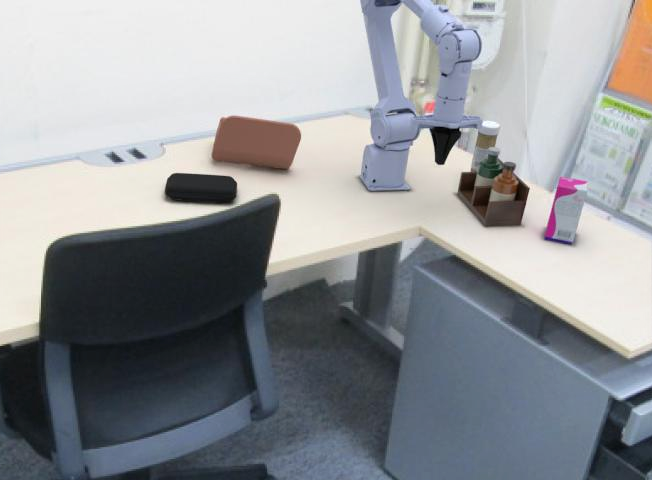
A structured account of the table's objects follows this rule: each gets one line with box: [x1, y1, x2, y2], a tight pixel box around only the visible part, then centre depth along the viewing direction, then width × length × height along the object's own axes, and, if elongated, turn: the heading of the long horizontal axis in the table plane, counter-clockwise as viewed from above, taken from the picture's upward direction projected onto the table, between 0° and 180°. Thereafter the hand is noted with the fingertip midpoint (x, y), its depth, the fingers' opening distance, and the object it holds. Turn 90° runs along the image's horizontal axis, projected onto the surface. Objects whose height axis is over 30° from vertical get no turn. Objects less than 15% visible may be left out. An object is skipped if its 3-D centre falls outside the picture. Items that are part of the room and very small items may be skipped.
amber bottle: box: [487, 161, 519, 208], centre depth 183 cm, size 5×5×10 cm
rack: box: [456, 157, 531, 227], centre depth 187 cm, size 8×16×8 cm, turn 12°
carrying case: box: [164, 172, 238, 204], centre depth 185 cm, size 11×3×15 cm
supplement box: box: [543, 176, 589, 245], centre depth 178 cm, size 6×6×12 cm
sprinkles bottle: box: [469, 120, 501, 172], centre depth 198 cm, size 5×5×13 cm
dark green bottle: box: [473, 146, 503, 192], centre depth 189 cm, size 5×5×10 cm
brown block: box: [211, 114, 302, 170], centre depth 200 cm, size 16×17×15 cm
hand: (439, 163), depth 181 cm, fingers closed
